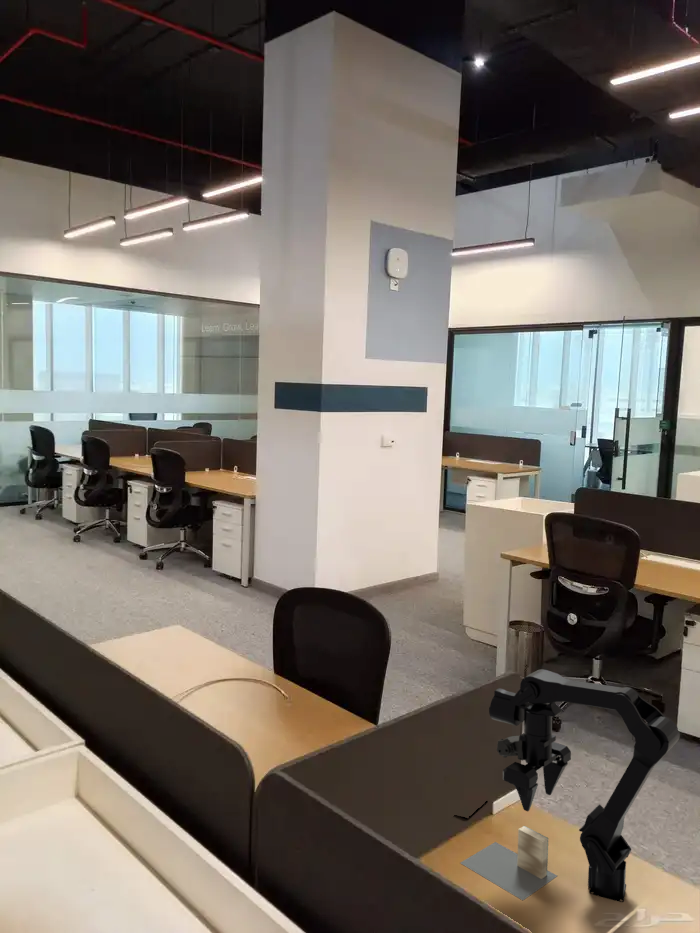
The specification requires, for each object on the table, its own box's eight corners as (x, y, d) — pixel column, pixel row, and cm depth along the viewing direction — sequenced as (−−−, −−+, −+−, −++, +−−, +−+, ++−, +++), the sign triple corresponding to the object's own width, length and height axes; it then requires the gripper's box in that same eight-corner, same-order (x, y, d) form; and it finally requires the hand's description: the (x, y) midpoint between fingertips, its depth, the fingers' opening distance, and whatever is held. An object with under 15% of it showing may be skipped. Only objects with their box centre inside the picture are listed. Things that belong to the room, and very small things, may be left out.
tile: (547, 875, 155) (548, 838, 155) (541, 879, 154) (542, 841, 154) (523, 861, 160) (524, 825, 159) (517, 865, 159) (518, 829, 158)
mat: (557, 878, 155) (557, 875, 155) (522, 903, 147) (522, 900, 147) (495, 844, 167) (495, 841, 167) (459, 865, 159) (459, 862, 159)
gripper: (527, 708, 172) (526, 775, 173) (481, 733, 158) (481, 805, 159) (572, 721, 164) (571, 791, 165) (528, 749, 151) (527, 824, 152)
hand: (537, 802), depth 161 cm, fingers open, 9 cm apart
